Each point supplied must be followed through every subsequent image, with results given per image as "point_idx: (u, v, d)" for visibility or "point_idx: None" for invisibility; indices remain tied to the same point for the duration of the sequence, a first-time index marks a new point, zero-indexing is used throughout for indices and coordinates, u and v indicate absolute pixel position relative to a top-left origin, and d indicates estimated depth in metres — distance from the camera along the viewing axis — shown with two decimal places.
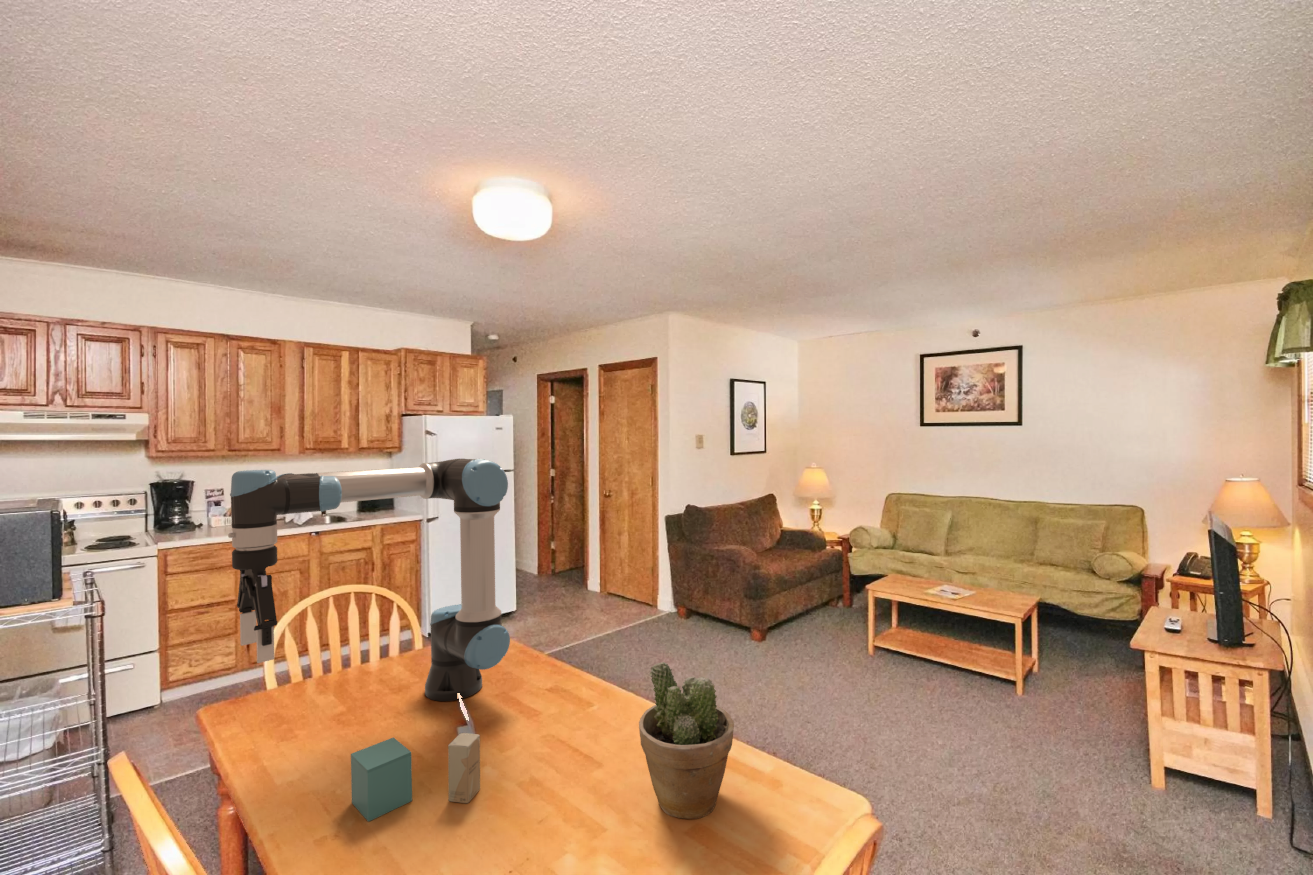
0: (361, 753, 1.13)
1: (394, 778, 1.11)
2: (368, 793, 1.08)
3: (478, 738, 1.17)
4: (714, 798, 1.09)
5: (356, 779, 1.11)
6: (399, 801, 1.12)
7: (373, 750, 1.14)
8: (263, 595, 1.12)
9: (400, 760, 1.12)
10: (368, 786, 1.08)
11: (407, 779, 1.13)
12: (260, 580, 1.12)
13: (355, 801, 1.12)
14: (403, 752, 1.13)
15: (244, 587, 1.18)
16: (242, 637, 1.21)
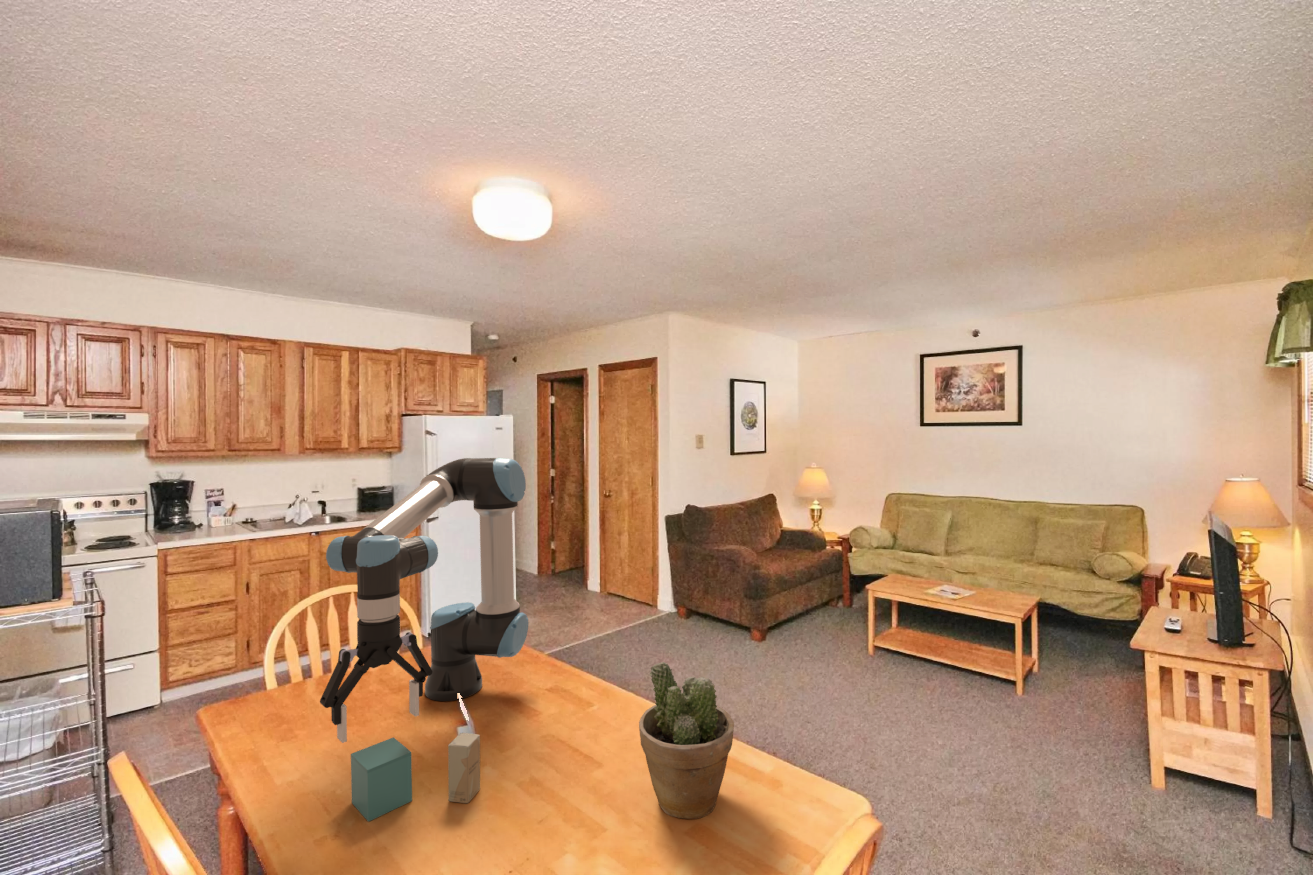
0: (361, 753, 1.13)
1: (394, 778, 1.11)
2: (368, 793, 1.08)
3: (478, 738, 1.17)
4: (714, 798, 1.09)
5: (356, 779, 1.11)
6: (399, 801, 1.12)
7: (373, 750, 1.14)
8: (335, 670, 1.08)
9: (400, 760, 1.12)
10: (368, 786, 1.08)
11: (407, 779, 1.13)
12: (340, 654, 1.08)
13: (355, 801, 1.12)
14: (403, 752, 1.13)
15: None
16: (409, 704, 1.18)
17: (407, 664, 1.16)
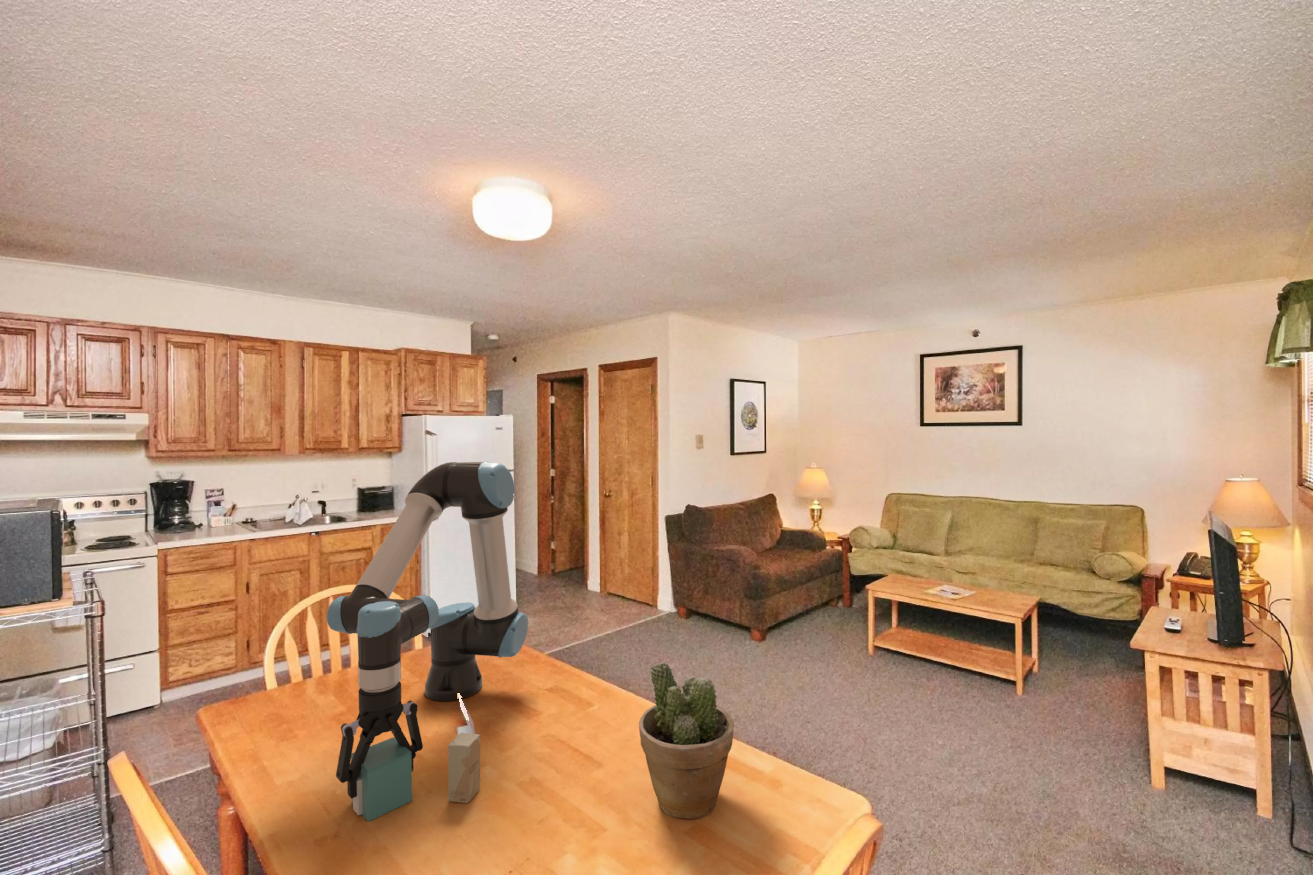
0: None
1: (394, 777, 1.11)
2: (368, 793, 1.08)
3: (478, 738, 1.17)
4: (714, 798, 1.09)
5: None
6: (399, 801, 1.12)
7: (373, 750, 1.14)
8: (342, 746, 1.09)
9: (400, 760, 1.12)
10: (368, 786, 1.08)
11: (407, 779, 1.13)
12: (342, 730, 1.09)
13: None
14: (403, 752, 1.13)
15: None
16: None
17: (402, 736, 1.15)
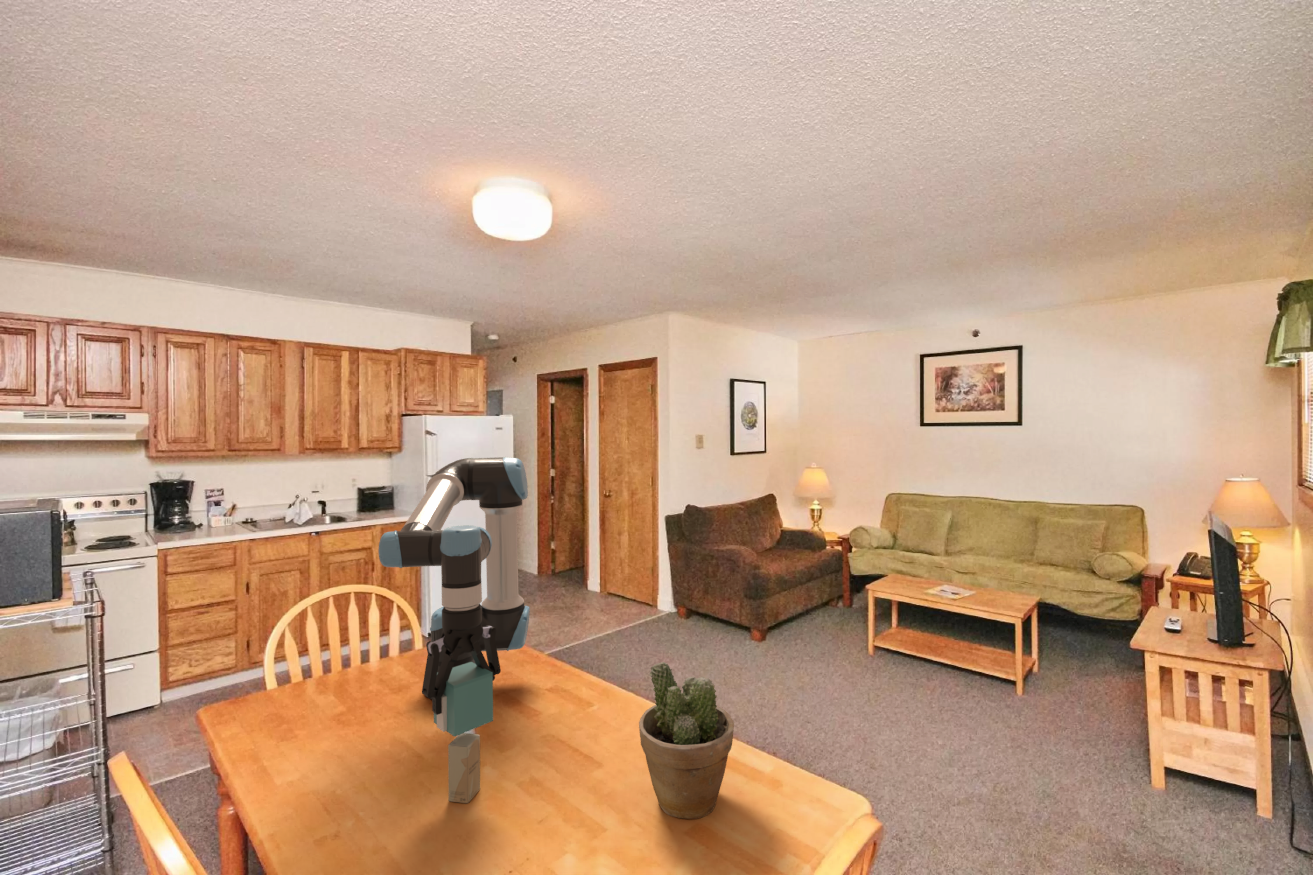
0: None
1: (477, 696, 1.13)
2: (454, 708, 1.09)
3: (478, 738, 1.17)
4: (714, 798, 1.09)
5: None
6: (482, 719, 1.13)
7: (454, 671, 1.16)
8: (428, 662, 1.10)
9: (482, 679, 1.14)
10: (454, 701, 1.09)
11: (489, 699, 1.15)
12: (428, 647, 1.10)
13: None
14: (485, 672, 1.15)
15: None
16: None
17: (482, 657, 1.17)
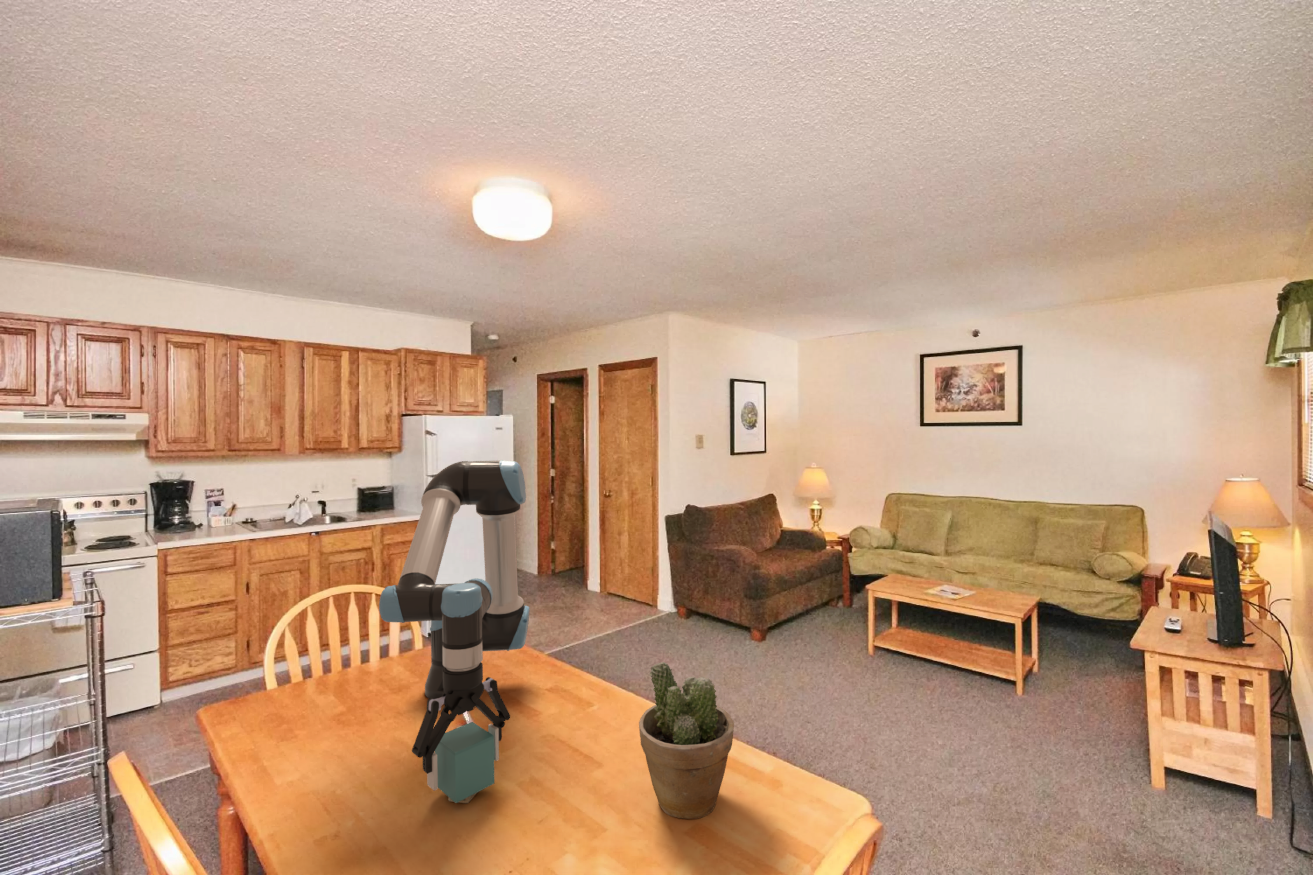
0: (444, 737, 1.15)
1: (478, 760, 1.13)
2: (456, 775, 1.10)
3: None
4: (714, 798, 1.09)
5: (441, 762, 1.13)
6: (483, 783, 1.14)
7: (455, 734, 1.16)
8: (425, 720, 1.10)
9: (484, 743, 1.14)
10: (455, 768, 1.10)
11: (490, 762, 1.15)
12: (428, 703, 1.11)
13: (440, 784, 1.14)
14: (486, 735, 1.15)
15: None
16: None
17: (488, 709, 1.18)
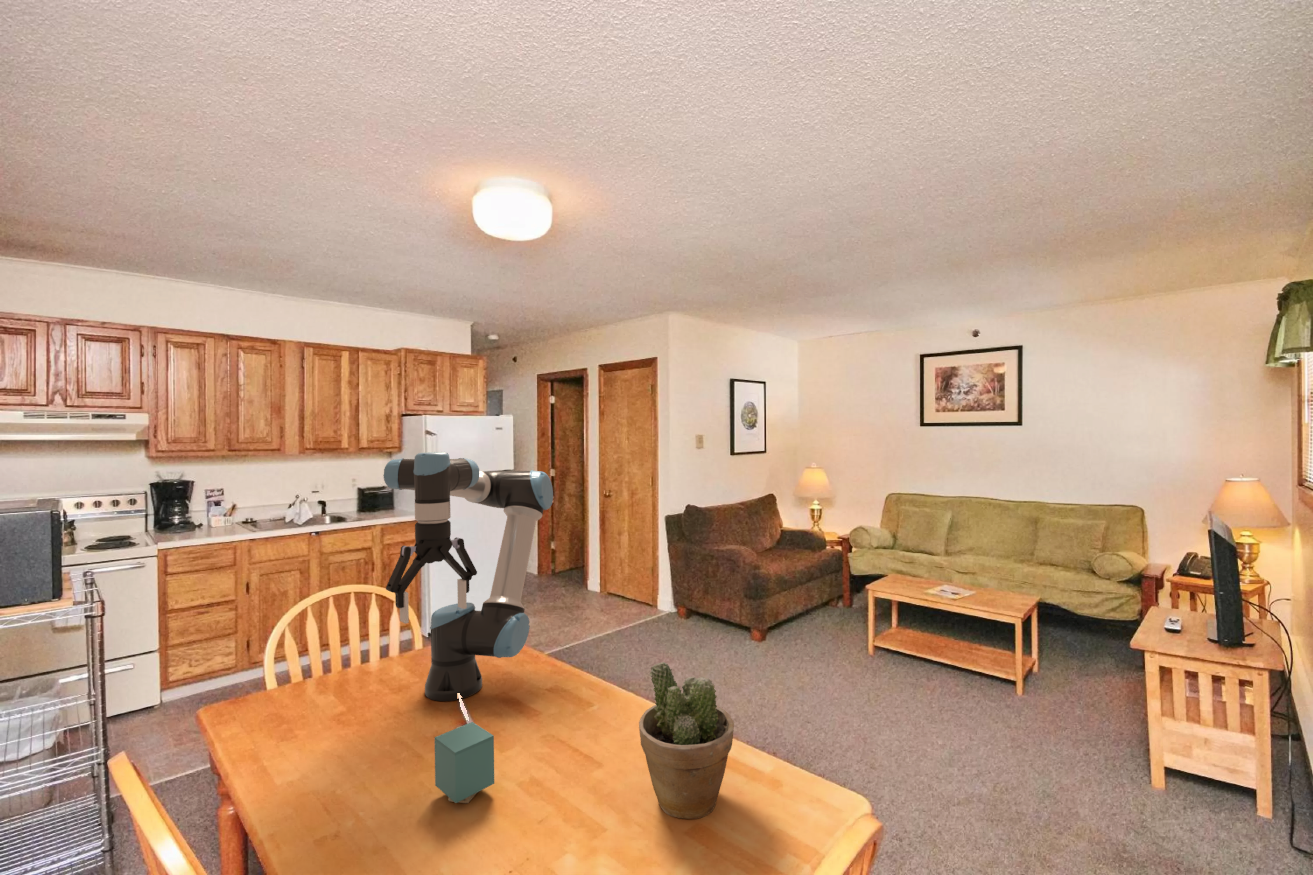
0: (444, 737, 1.15)
1: (478, 760, 1.13)
2: (455, 775, 1.10)
3: None
4: (714, 798, 1.09)
5: (441, 762, 1.13)
6: (483, 783, 1.14)
7: (455, 734, 1.16)
8: (398, 563, 1.26)
9: (484, 743, 1.14)
10: (455, 768, 1.09)
11: (490, 762, 1.15)
12: (401, 549, 1.27)
13: (439, 784, 1.14)
14: (486, 735, 1.15)
15: None
16: (458, 599, 1.37)
17: (456, 563, 1.34)
